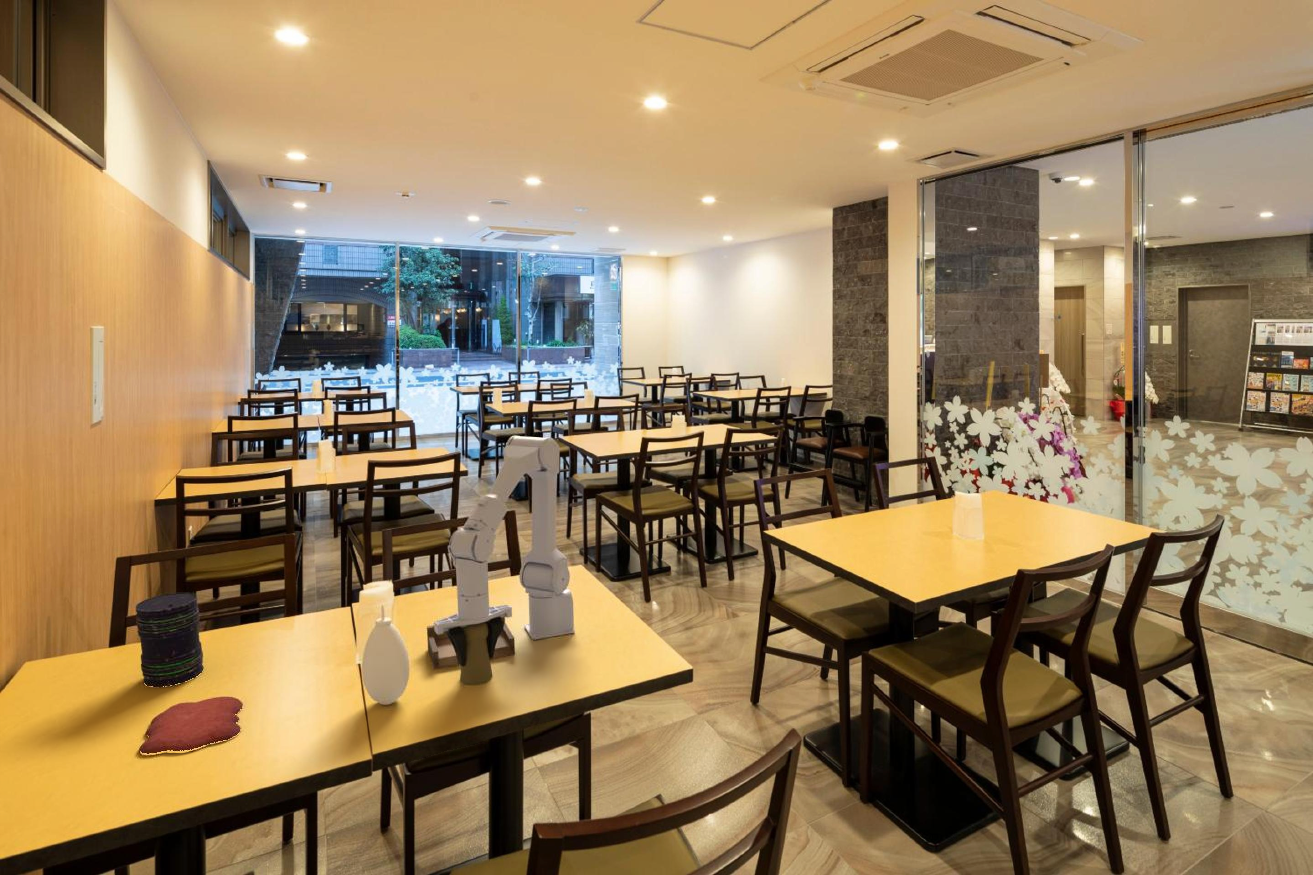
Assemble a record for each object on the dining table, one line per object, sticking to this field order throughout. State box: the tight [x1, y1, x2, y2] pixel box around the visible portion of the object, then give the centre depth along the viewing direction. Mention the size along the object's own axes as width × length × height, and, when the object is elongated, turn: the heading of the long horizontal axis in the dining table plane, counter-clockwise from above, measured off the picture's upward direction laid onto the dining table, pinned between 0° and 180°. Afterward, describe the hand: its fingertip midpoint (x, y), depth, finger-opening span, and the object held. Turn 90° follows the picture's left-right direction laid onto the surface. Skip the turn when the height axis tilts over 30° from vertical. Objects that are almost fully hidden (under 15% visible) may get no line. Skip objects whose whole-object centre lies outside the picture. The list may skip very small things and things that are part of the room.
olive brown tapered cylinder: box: [459, 622, 493, 686], centre depth 134 cm, size 6×6×11 cm
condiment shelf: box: [426, 617, 516, 670], centre depth 146 cm, size 16×10×5 cm, turn 114°
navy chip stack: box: [135, 592, 205, 688], centre depth 135 cm, size 10×10×15 cm
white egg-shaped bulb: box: [361, 604, 411, 706], centre depth 125 cm, size 8×8×18 cm
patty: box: [138, 696, 244, 754], centre depth 118 cm, size 18×14×2 cm
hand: (475, 660), depth 135 cm, fingers closed on olive brown tapered cylinder, 5 cm apart
